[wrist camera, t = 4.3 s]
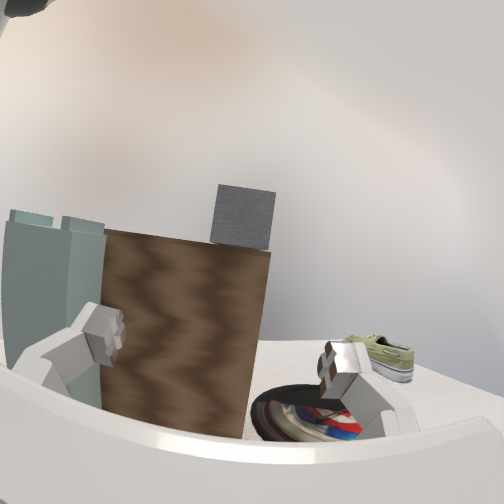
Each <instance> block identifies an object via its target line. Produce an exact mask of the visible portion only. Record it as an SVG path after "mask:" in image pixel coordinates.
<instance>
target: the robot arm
mask: <svg viewBox="0 0 504 504" xmlns="http://www.w3.org/2000/svg"><path fill="white" fill-rule="evenodd" d="M53 1H55V0H0V37H1V35H2V33H3V31H4V28H5V26H6V24H7V22H8V20H9V18H14V17H17V16H18V17H20V16H21V17H23V16H30V15H33V14H35V13H37V12H40V11H42V10H44V9H45V8H46V7H47V6H48V5H49V4H50V3H52V2H53ZM122 319H123V313H122V311H121V310H118V309H114V308H110V307H107V306H103V305H99V304H95V303H91V302H88V303H86V304H85V306H84V307H83V309H82V310H81V312H80V313H79V315H78V316H77V318H76V319H75V321H74V322H73V324H72V325H71V327H70V328H69V327H66V328H64V329H62V330H60V331H59V332H57V333H55V334H53V335H51V336H49V337H47V338H45V339H43V340H41V341H39V342H37V343H35V344H34V345H32V346H30V347H28V348H26V349H25V350H24V351H23V353H22V354H21V356H20V358H19V359H18V361H17V362H16V364H15V365H14V367H13V369H12V370H10V369H8V368H6V367H5V366H3V365H1V364H0V504H504V437H503V435H502V433H501V432H500V431H499V430H498V429H497V428H496V427H495V426H494V425H493V424H491V423H490V422H489V421H488V420H487V419H485V418H484V417H481V416H478V417H474V418H470V419H467V420H464V421H460V422H457V423H453V424H449V425H445V426H441V427H437V428H432V429H428V430H423V431H420V429H419V426H418V422H417V419H416V416H415V413H414V409H413V407H412V406H411V405H410V404H409V403H408V402H407V401H406V400H405V399H404V398H403V397H402V396H401V395H399V394H398V393H397V392H396V391H395V390H394V389H393V388H392V387H391V386H390V385H389V384H388V383H387V382H386V381H385V380H384V379H382V378H381V377H380V376H379V375H378V374H377V373H374V372H373V369H372V366H371V363H370V359H369V356H368V353H367V350H366V347H365V344H364V343H358V342H338V341H328V342H327V343H326V345H325V352H324V353H323V354H321V356H320V358H319V360H318V366H317V372H318V377H319V378H320V379H321V380H322V381H321V383H320V385H319V387H320V394H321V398H327V399H340V400H341V402H342V403H343V404H344V406H345V407H346V408H347V409H348V411H349V412H350V413H351V415H352V416H353V417H354V419H355V420H356V421H357V423H358V424H359V425H360V427H361V428H362V429H363V431H362V432H361V433H360V434H359V435H358V436H357V437H356V438H355V439H354V440H351V441H336V442H272V441H256V440H244V439H234V438H226V437H218V436H211V435H204V434H198V433H192V432H187V431H181V430H176V429H172V428H167V427H162V426H158V425H154V424H150V423H146V422H142V421H138V420H134V419H131V418H127V417H124V416H121V415H117V414H114V413H111V412H108V411H105V410H102V409H99V408H96V407H93V406H90V405H87V404H85V403H82V402H79V401H77V400H74V399H72V398H71V395H70V394H69V392H68V390H67V389H66V387H65V386H66V385H67V384H69V383H70V382H71V381H73V380H74V379H75V378H77V377H78V376H79V375H80V374H82V373H83V372H84V371H86V370H87V369H88V368H90V367H91V366H92V365H94V364H95V363H99V364H102V365H106V366H110V367H113V366H114V364H115V362H116V359H117V357H118V352H117V350H118V349H120V348H121V347H122V346H123V344H124V341H125V337H126V328H125V325H124V324H123V322H122Z"/></svg>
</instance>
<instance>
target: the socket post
mask: <svg viewBox="0 0 504 504" xmlns="http://www.w3.org/2000/svg"><path fill="white" fill-rule="evenodd" d="M52 223H53V217H50V216H45V215H39V214H34V213H29V212H24V211H18V210H10V218H9V221H6V227H5V235H4V246H3V258H2V259H3V260H2V282H1V286H2V287H1V296H2V297H1V300H2V324H3V337H4V347H5V355H6V363H7V368H8V369H10V370H12V369H13V367H14V365H15V364H16V362H17V361H18V359H19V358H20V356H21V354H22V353H23V351H24V350H25V349H26V348H28V347H30V346H32V345H34V344H35V343H37V342H39V341H41V340H43V339H45V338H47V337H49V336H51V335H53V334H55V333H57V332H59V331H60V330H62V329H64V328H66V327H69V328H70V327H71V325H72V324H73V322H74V321H75V319H76V318H77V316H78V315H79V313H80V312H81V310H82V309H83V307H84V306H85V304H86V303H88V302H91V303H95V304H99V305H100V299H101V284H102V273H103V263H104V254H105V245H106V238H107V235H103V233H104V226H105V224H103V223H98V222H93V221H88V220H84V219H79V218H74V217H69V216H62V223H61V228H54V227H52ZM65 387H66V389H67V390H68V392H69V394H70V395H71V398H72V399H74V400H77V401H79V402H82V403H85V404H87V405H90V406H93V407H96V408H99V409H102V403H101V389H100V367H99V363H95V364H94V365H92V366H91V367H90V368H88V369H87V370H86V371H84V372H83V373H82V374H80V375H79V376H78V377H77V378H75V379H74V380H73V381H71V382H70V383H69V384H67V385H66V386H65Z"/></svg>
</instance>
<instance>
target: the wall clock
mask: <svg viewBox="0 0 504 504" xmlns="http://www.w3.org/2000/svg"><path fill="white" fill-rule="evenodd" d="M251 417H252V422H253V424H254V426H255V428H256V430H257V432H258V433H259V434H260V435H261V436H262V438H263V439H264V440H265V441H272V442H336V441H351V440H354V439H355V438H356V437H357V436H358V435H359V434H360V433H361V432H362V431H363V429H362V428H361V427H360V425H359V424H358V423H357V421H356V420H355V419H354V417H353V416H352V415H351V413H350V412H349V411H348V409H347V408H346V407H345V406H344V404H343V403H342V402H341V400H340V399H327V398H321V394H320V387H319V385H309V384H295V385H286V386H281V387H277V388H273V389H270V390H268V391H266V392H263V393H262V394H261V395H259V396H258V397H257V398H256V399H255V401H254V402H253V404H252V407H251Z"/></svg>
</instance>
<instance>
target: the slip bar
mask: <svg viewBox="0 0 504 504" xmlns="http://www.w3.org/2000/svg"><path fill="white" fill-rule="evenodd" d="M275 197H276V193H274V192H269V191H262V190H256V189H249V188H242V187H235V186H227V185H220V184H219V185H218V191H217V198H216V203H215V209H214V216H213V222H212V230H211V236H210V242H212V243H215V244H218V245H223V246H230V247H237V248H244V249H251V250H258V251H259V250H268V247H269V240H270V233H271V225H272V219H273V211H274V203H275Z"/></svg>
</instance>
